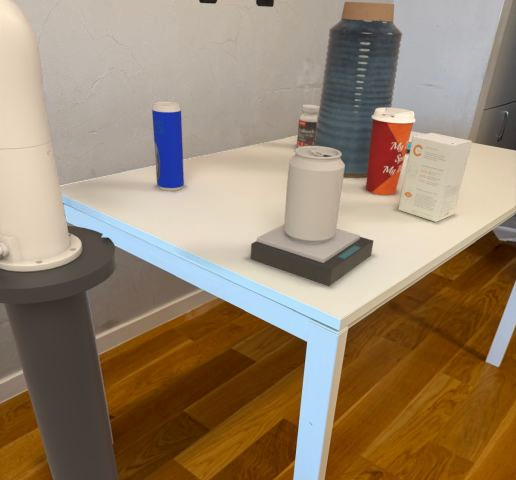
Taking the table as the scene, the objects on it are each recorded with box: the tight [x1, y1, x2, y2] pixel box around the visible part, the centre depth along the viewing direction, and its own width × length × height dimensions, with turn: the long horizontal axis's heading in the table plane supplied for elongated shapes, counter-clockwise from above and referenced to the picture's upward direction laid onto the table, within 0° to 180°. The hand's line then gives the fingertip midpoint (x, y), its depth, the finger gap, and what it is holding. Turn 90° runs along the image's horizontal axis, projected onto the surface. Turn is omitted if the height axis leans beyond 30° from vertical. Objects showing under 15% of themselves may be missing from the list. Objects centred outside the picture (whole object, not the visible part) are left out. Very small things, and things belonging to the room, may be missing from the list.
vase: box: [314, 1, 403, 178], centre depth 107 cm, size 16×16×32 cm
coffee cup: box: [365, 107, 416, 196], centre depth 99 cm, size 8×8×15 cm
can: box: [283, 146, 345, 244], centre depth 69 cm, size 8×8×12 cm
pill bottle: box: [296, 104, 319, 148], centre depth 128 cm, size 6×6×10 cm
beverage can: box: [151, 101, 185, 192], centre depth 94 cm, size 5×5×15 cm
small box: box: [398, 132, 473, 223], centre depth 89 cm, size 8×6×13 cm
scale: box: [250, 224, 374, 287], centre depth 73 cm, size 13×13×3 cm
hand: (235, 4), depth 68 cm, fingers open, 9 cm apart
